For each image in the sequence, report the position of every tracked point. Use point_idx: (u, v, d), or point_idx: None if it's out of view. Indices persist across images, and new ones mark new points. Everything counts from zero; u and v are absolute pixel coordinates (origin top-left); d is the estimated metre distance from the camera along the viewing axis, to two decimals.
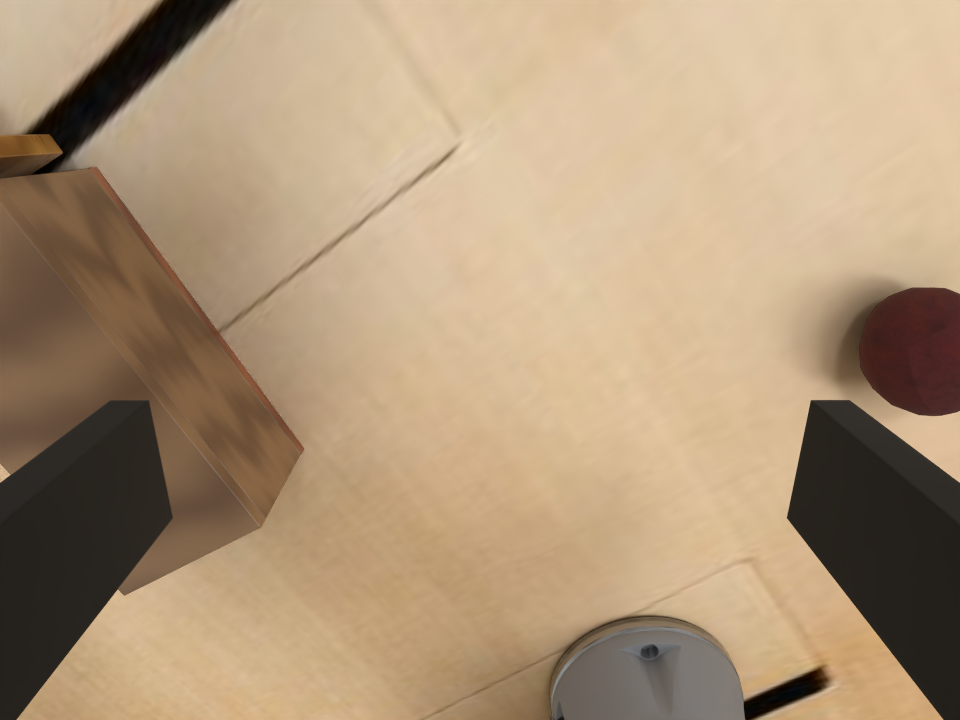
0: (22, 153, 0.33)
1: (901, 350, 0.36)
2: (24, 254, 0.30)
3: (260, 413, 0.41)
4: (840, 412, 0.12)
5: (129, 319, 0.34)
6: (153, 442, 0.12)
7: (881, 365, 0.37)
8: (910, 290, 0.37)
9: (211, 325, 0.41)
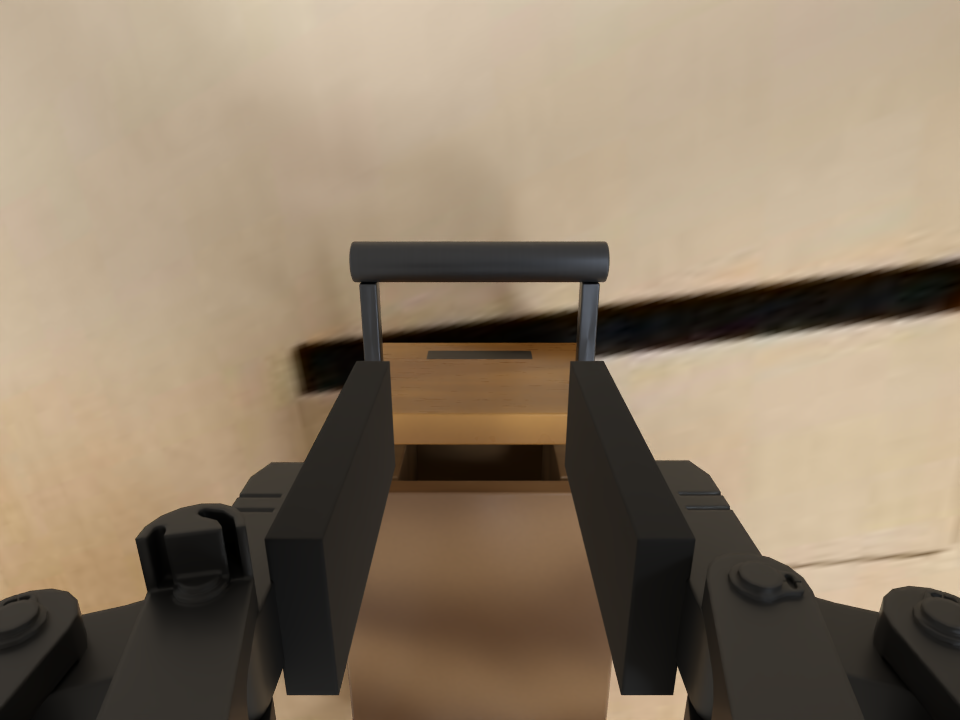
0: None
1: None
2: None
3: None
4: (586, 370, 0.14)
5: None
6: (390, 398, 0.14)
7: None
8: None
9: None
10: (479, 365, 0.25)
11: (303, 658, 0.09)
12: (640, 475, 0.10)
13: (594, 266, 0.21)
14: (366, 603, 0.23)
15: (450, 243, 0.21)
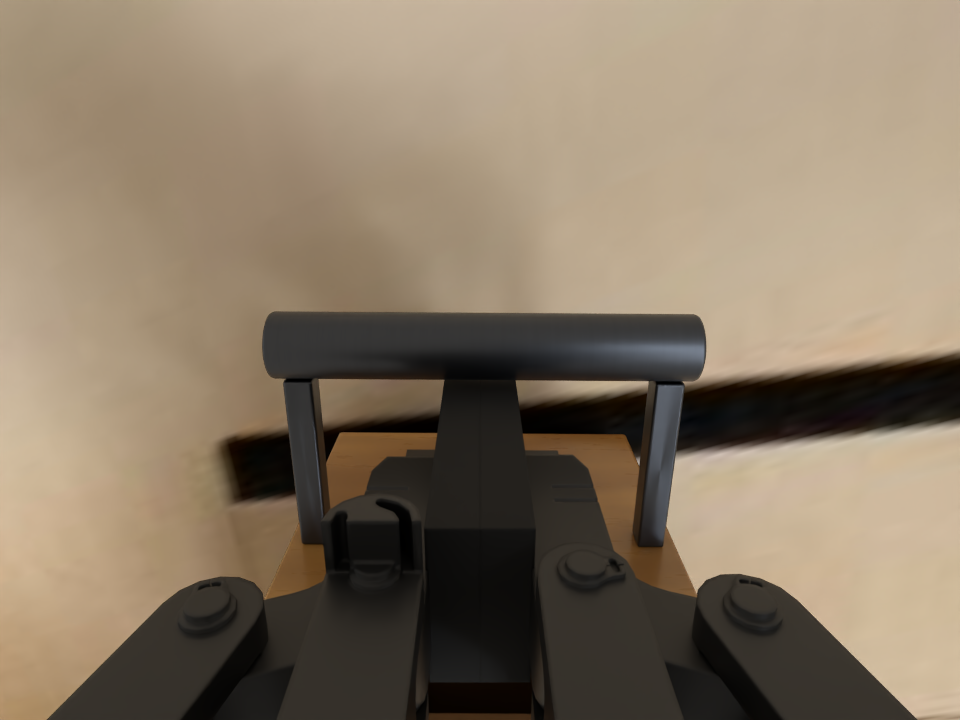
0: None
1: None
2: None
3: None
4: None
5: None
6: None
7: None
8: None
9: None
10: None
11: (450, 646, 0.09)
12: (505, 468, 0.10)
13: (680, 360, 0.12)
14: None
15: (435, 317, 0.12)
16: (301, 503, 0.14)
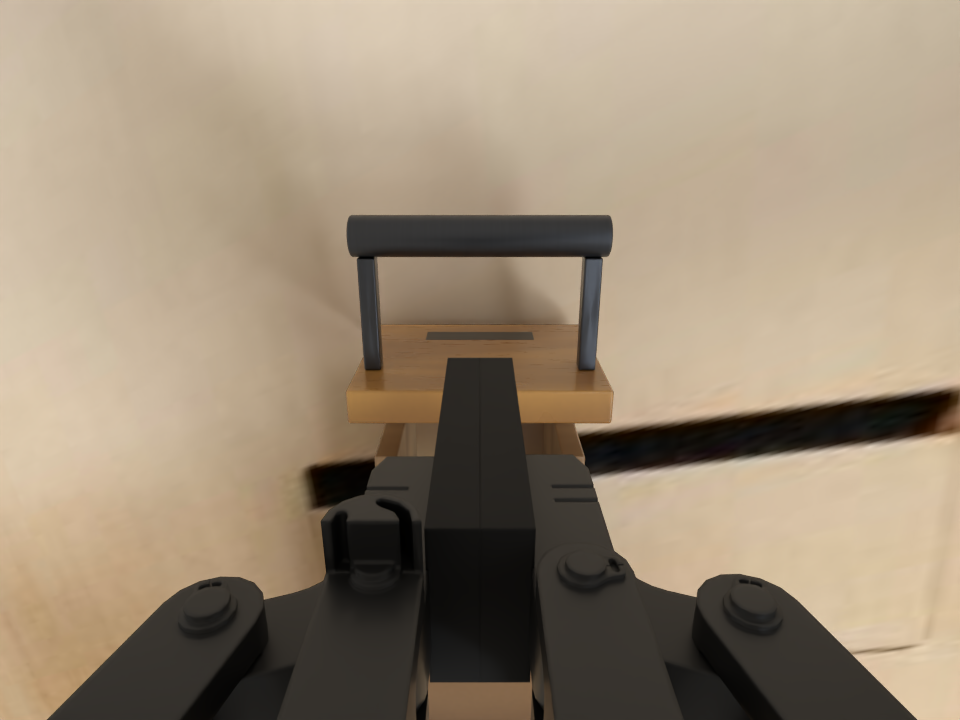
0: None
1: None
2: None
3: None
4: (492, 366, 0.14)
5: None
6: None
7: None
8: None
9: None
10: (479, 345, 0.25)
11: (450, 646, 0.09)
12: (506, 467, 0.10)
13: (597, 240, 0.20)
14: None
15: (450, 216, 0.21)
16: (365, 341, 0.22)
